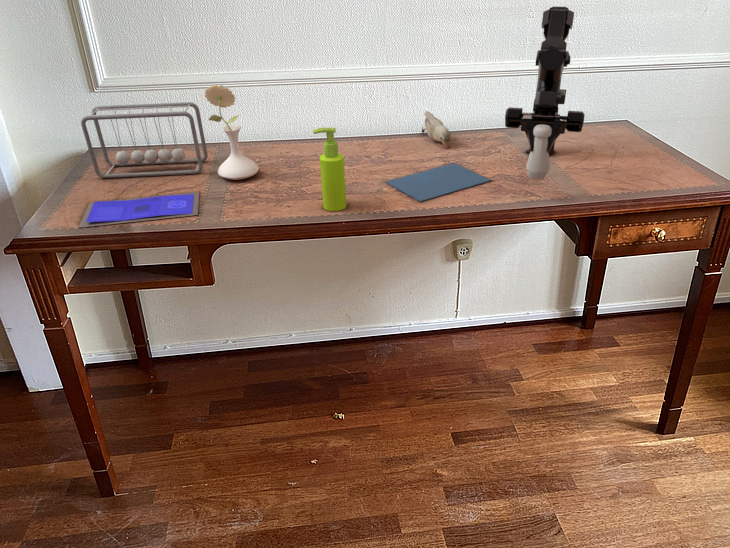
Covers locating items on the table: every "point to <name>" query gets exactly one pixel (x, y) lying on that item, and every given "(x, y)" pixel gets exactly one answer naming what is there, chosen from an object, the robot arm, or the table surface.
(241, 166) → the flower in vase
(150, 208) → the booklet
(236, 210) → the table surface
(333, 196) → the soap dispenser
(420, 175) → the slate mat
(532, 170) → the salt shaker
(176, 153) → the newton's cradle
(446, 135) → the decorative bird
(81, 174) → the table surface
